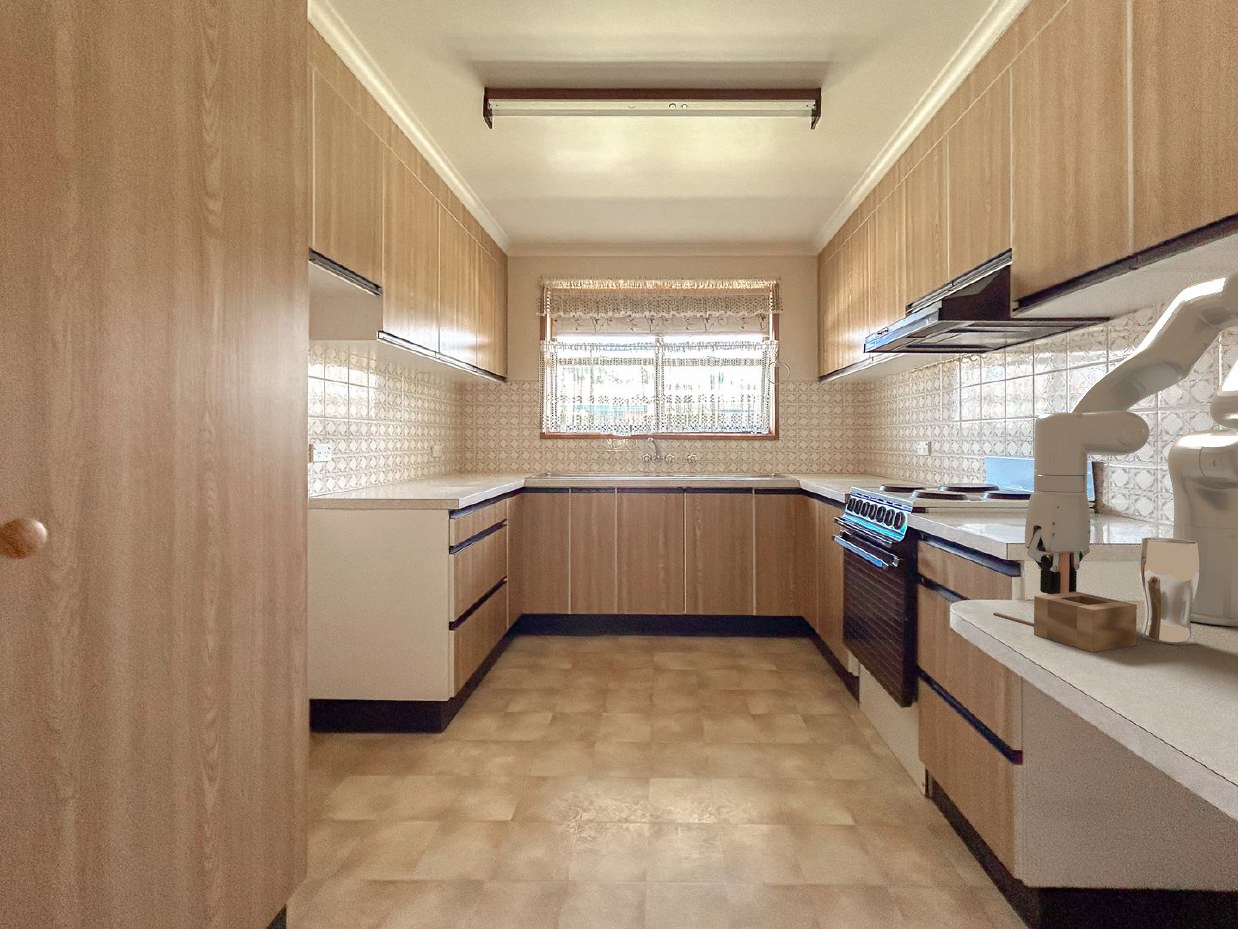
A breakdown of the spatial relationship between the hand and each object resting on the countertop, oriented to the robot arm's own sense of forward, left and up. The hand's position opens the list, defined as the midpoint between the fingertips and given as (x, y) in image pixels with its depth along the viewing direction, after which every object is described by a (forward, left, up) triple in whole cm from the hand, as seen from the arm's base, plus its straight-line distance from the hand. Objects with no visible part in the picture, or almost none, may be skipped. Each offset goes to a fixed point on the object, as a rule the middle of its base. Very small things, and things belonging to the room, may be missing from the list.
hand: (1058, 591), depth 113 cm
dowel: (0, 0, -4) cm, 4 cm away
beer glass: (-3, +15, -4) cm, 16 cm away
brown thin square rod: (+9, +1, -4) cm, 10 cm away
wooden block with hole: (+9, +11, -4) cm, 15 cm away
